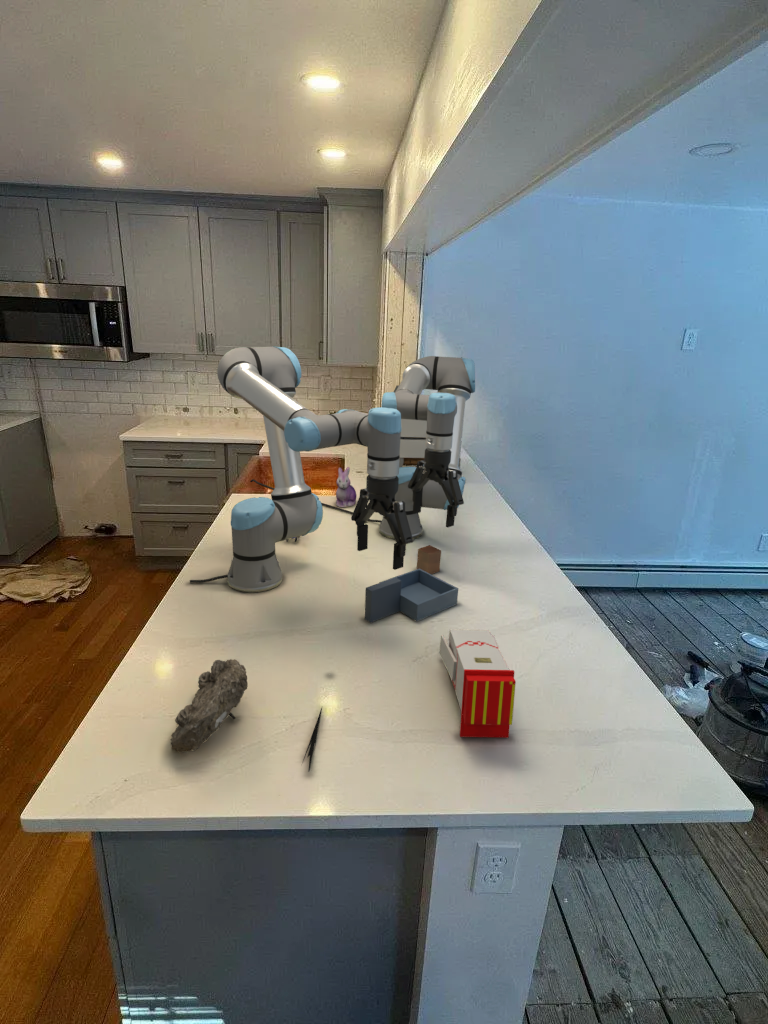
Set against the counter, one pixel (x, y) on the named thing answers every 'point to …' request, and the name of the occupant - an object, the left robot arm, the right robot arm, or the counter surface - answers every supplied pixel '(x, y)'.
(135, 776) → the counter surface
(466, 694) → the toy
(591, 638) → the counter surface
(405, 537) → the left robot arm
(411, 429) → the grey slatted box
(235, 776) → the counter surface
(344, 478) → the figurine
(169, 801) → the counter surface
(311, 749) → the feather
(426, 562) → the block
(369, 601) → the tray
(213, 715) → the fossil
